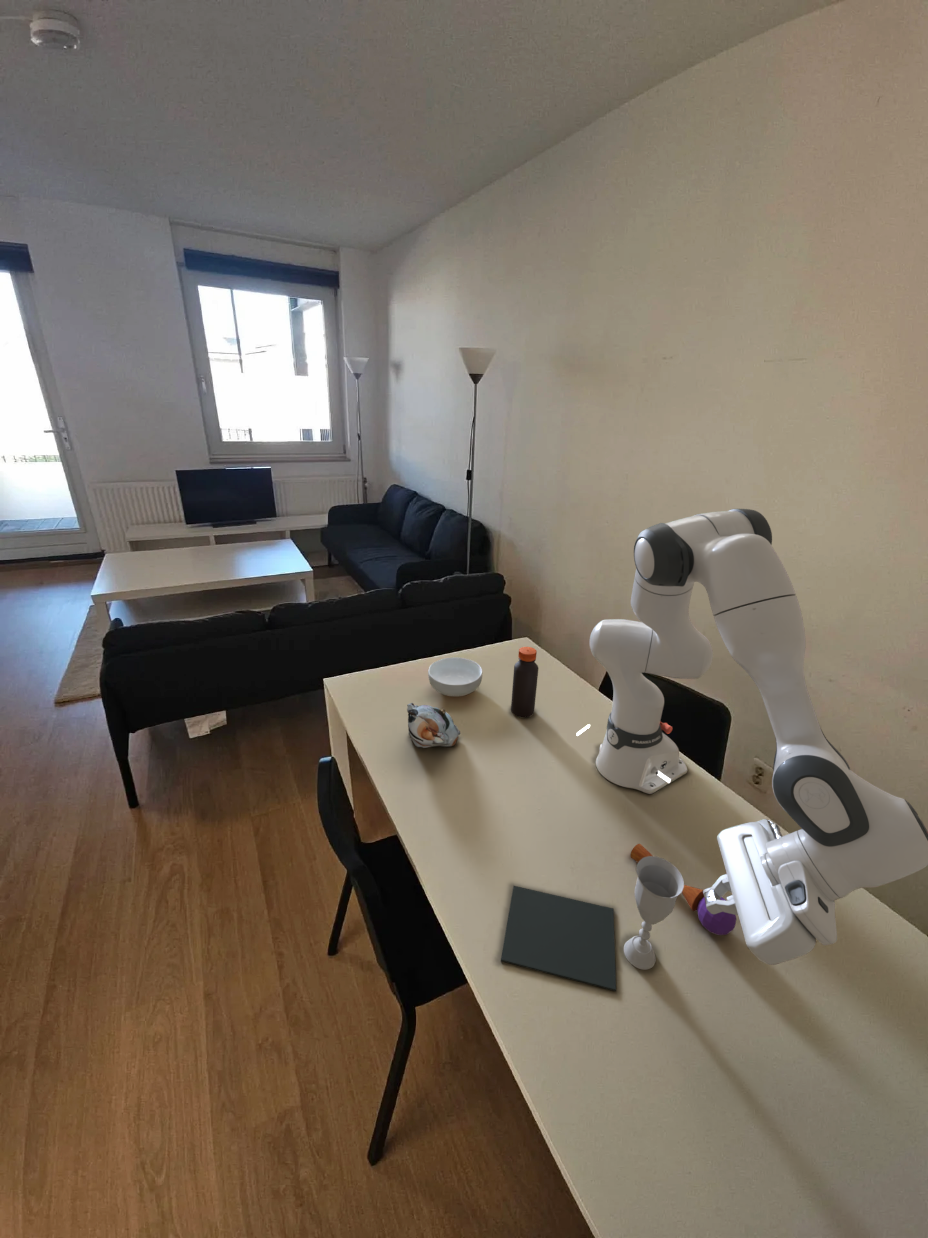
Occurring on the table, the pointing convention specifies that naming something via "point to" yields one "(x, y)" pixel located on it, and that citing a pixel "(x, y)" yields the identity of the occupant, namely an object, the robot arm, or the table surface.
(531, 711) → the bottle
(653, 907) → the chalice
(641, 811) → the table surface
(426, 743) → the lucky cat figurine
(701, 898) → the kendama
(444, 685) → the cereal bowl
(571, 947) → the mat
